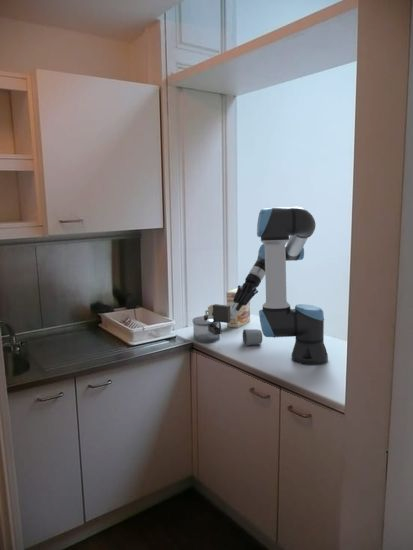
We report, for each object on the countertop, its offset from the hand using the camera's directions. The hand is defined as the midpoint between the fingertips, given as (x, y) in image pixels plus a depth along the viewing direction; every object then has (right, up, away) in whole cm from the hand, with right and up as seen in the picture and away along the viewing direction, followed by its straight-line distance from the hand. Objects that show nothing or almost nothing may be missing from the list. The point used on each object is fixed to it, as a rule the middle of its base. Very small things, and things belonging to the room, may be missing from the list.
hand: (231, 315), depth 223 cm
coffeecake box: (+6, -8, +30) cm, 31 cm away
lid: (-10, -4, +1) cm, 11 cm away
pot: (-11, -13, +3) cm, 17 cm away
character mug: (-8, -10, +21) cm, 24 cm away
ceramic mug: (+9, -14, -5) cm, 17 cm away
